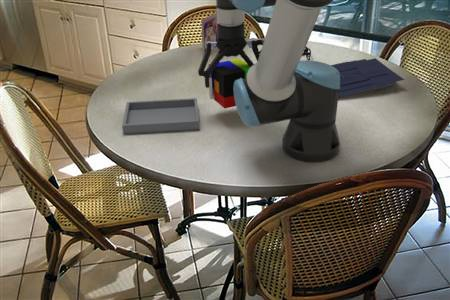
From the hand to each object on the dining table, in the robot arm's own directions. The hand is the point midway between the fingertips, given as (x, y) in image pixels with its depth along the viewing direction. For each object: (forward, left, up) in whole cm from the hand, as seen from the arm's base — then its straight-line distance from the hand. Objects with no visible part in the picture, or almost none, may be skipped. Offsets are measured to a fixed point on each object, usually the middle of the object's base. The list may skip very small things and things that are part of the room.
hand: (232, 96), depth 143 cm
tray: (0, +21, -7) cm, 22 cm away
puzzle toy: (0, 0, -1) cm, 1 cm away
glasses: (+47, -25, -7) cm, 54 cm away
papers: (+20, -42, -7) cm, 47 cm away
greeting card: (+58, +5, -7) cm, 59 cm away
